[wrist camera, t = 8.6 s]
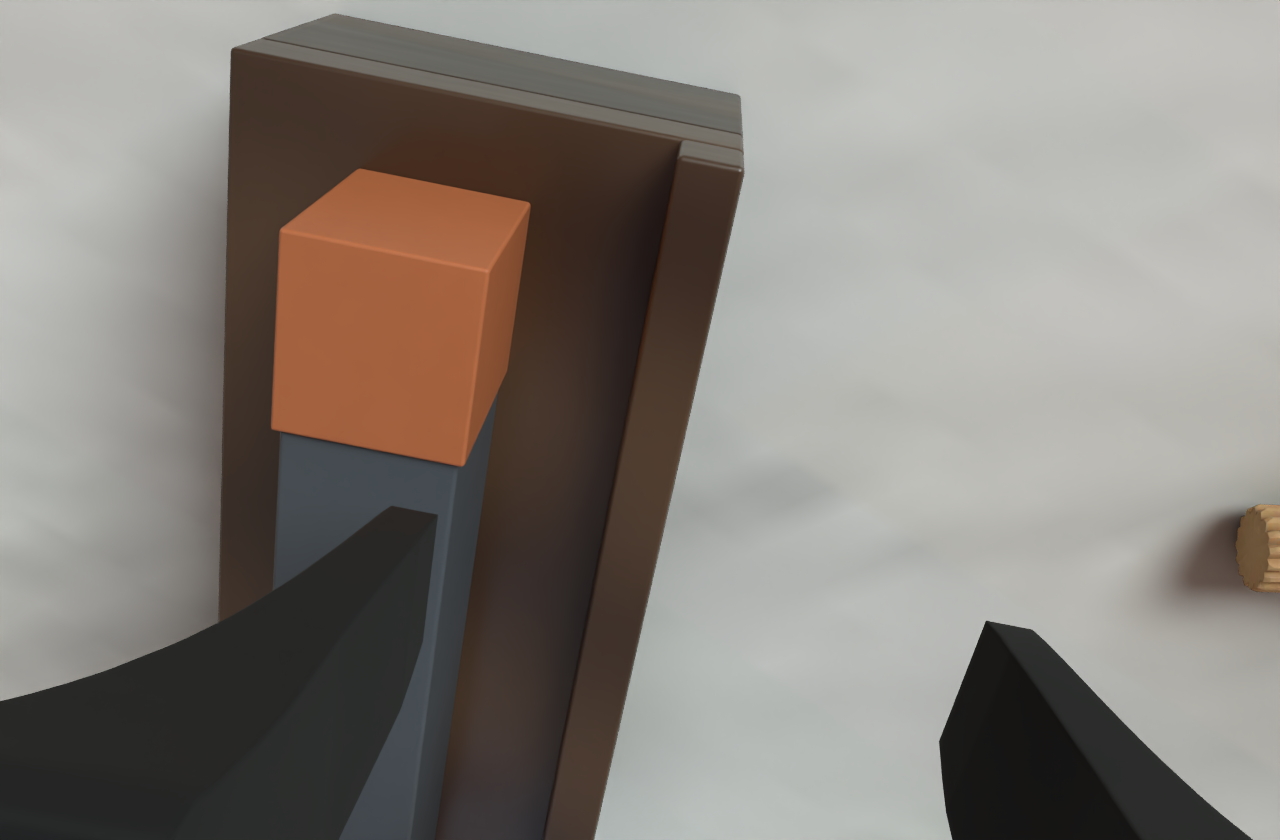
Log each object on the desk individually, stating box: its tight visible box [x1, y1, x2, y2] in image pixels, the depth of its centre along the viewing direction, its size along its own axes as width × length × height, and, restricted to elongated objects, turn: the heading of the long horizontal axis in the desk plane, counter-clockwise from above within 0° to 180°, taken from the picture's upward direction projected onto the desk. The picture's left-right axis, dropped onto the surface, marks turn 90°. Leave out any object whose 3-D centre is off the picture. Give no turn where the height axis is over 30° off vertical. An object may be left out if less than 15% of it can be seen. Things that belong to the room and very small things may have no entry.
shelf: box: [218, 14, 744, 840], centre depth 23 cm, size 18×8×6 cm, turn 170°
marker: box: [271, 169, 531, 840], centre depth 20 cm, size 15×3×4 cm, turn 170°
